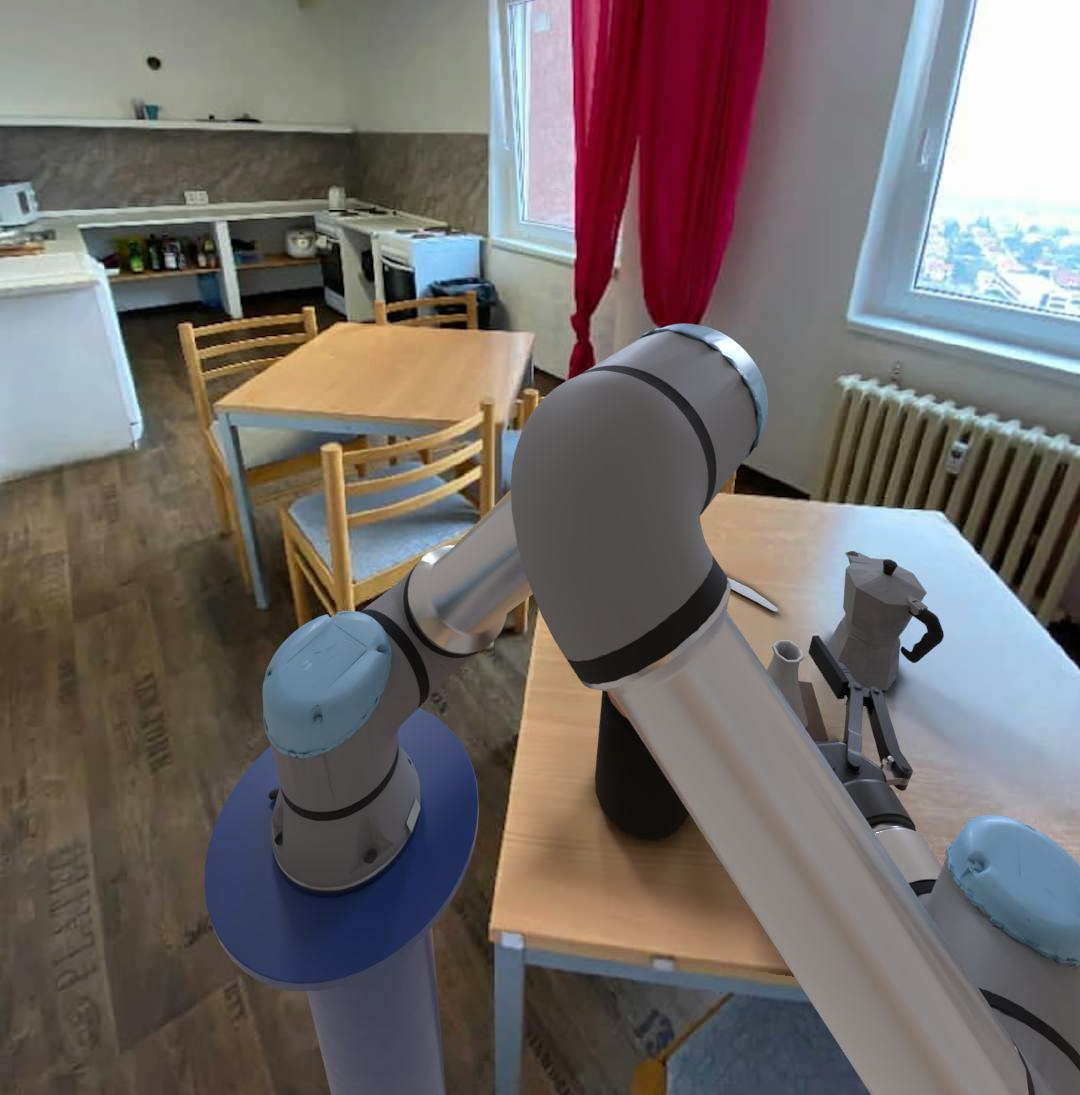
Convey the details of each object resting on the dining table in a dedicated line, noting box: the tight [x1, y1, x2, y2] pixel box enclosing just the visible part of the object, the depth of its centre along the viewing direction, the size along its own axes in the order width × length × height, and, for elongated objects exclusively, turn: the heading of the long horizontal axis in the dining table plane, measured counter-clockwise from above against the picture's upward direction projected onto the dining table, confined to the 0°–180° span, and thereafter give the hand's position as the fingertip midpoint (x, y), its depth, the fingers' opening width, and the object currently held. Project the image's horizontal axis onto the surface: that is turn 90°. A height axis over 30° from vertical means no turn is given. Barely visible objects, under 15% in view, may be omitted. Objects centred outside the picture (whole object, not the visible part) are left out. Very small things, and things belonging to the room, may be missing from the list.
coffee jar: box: [594, 690, 690, 841], centre depth 64 cm, size 11×11×18 cm
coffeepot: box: [825, 550, 945, 691], centre depth 80 cm, size 15×9×18 cm, turn 17°
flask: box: [766, 639, 808, 728], centre depth 70 cm, size 7×7×10 cm
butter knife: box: [727, 576, 779, 613], centre depth 102 cm, size 1×27×3 cm
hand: (766, 647), depth 72 cm, fingers open, 11 cm apart
